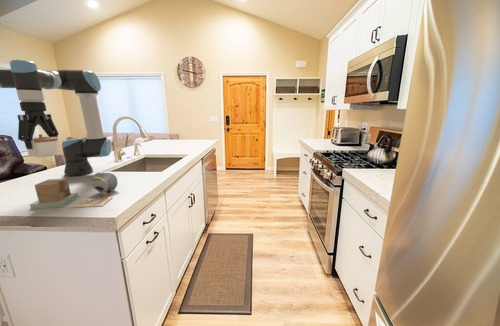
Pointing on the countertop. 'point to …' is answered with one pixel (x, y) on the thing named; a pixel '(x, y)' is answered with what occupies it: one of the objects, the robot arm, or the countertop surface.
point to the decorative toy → (104, 182)
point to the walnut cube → (52, 190)
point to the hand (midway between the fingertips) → (44, 153)
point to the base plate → (54, 202)
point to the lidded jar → (46, 146)
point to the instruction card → (91, 202)
